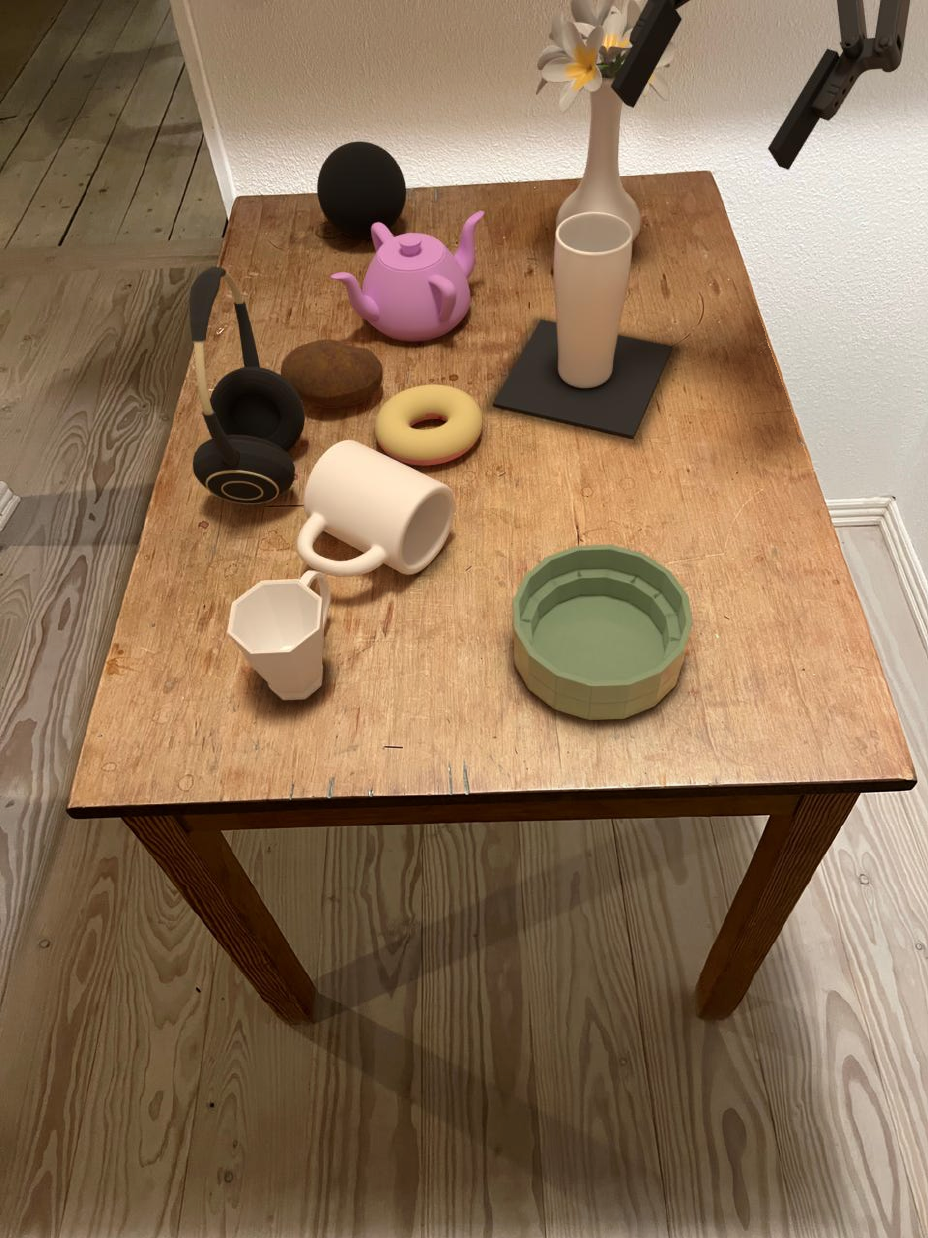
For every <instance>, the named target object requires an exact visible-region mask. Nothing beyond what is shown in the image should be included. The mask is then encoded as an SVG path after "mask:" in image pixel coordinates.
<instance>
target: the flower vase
mask: <svg viewBox="0 0 928 1238" xmlns="http://www.w3.org/2000/svg"><path fill="white" fill-rule="evenodd" d="M615 1H616V0H598V2H597V3H596V7H594V4H593V2H592V0H571V1H570V12H571V15H572V18H573V19H574V21H575V22H573V20H571V19H567V20H565V14H564V11H562V12H561V16H560V13H559V10H558V8H557V7H556V8H554V10H553V15H552V20H551V32H549V34H548V38H549V39H550V40H552V41H553V43H555V45H553V44H552V45H548V46H547V47H545V48H544V49H543V50H542V52H541V53H540V55H539V57H538V60H537V64H536V68H537V70H539V71H541V78H540V81H539V83H538V85H537V88H536V91H535V95H536V96H537V95H539V93H540V92H541V91H542V90H543V88H544V87H545V86H546V85H547V83H552V84H557V83H566V84H565V85H564V86H563V87H562V90H561V92H560V94H559V99H558V109H559V112H560V113H563V114H564V113H566V112H568V111H569V109H570V108H571V107H572V106H573V104H574V103H575V101H576V99H577V97H578V95H579V94H580V93H581V91H582V90H583V89H585V90H586V91H587V92H589V100H590V125H589V136H588V147H587V154H586V155H587V157H586V162H585V168H584V171H583V175H582V177H581V180H580V182H579V184H578V186H577V188H576V189H574V190H573V191H572V193H570V194H569V195H568V196H567V197H566V198H565V200H564V201H563V202H562V203H561V204H560V207H559V209H558V211H557V214H556V216H555V217H556V218H555V230H556V229H557V227H558V226H559V225H560V223H561V222H563V221H564V220H565V219H567V218H569V217H571V216H574V215H577V214H581V213H587V212H601V213H608V214H612V215H615V216H617V217H620V218H621V219H623V220H625V221H626V222H627V223H628V224H629V225H630V227H631V228H632V231H633V242H634V241H635V240H637V237H638V236H639V234H640V231H641V228H642V218H641V212H640V209H639V206H638V205H637V203H636V202H635V200H634V198H633V197H632V195H631V194H629V193H628V192H627V191H626V190H625V187H624V185H623V182H622V180H621V176H620V169H619V168H620V167H619V150H620V149H619V148H620V129H621V128H620V127H621V126H620V125H621V117H622V116H621V115H622V109H623V103H624V102H623V101H622V100H621V99H620V97H619V96H618V95H617V94H616V93H615V91H614V90H613V89H612V88H611V85H612V83H613V81H614V79H615V77H616V75H617V74H618V72H619V70H620V68H621V66H622V64H623V62H624V60H625V59H626V57H627V55H628V53H629V51H630V49H631V47H632V46H633V45H632V44H631V43H630V41H629V38H630V34H631V31H632V29H633V28H634V26H635V24H636V22H637V20H638V18H639V16H640V14H641V12H642V11H643V9H644V7H645V0H623V3H622V8H621V11H620V9H618V8H617V7H616V6H614V3H615ZM623 52H624V53H623ZM622 53H623V54H622ZM676 53H677V52H676V45H675V44H674V42H672V39H671V40H670V42H669V44H668V46H667V48H666V50H665V51H664V53H663V55H662V57H661V59H660V61H659V62H658V64H657V66H656V68H655V70H654V72H653V73H652V75H651V77H650V79H649V81H648V83H647V84H646V86H645V88H644V90H643V92H642V94H641V96H642V97H643V98H646V97H647V96H648V94H649V92H650V87H651V88H652V89H653V91H654V92H656V94H657V95H658V96H659V97H660V98H661V99H662V100H663V101H669V99H670V89H669V85H668V81H667V79H666V78H665V76H664V74H663V73H662V72H661V71H659V70H657V69H660V68H663V67H664V68H667V69H668V68H670V67H671V64H670V63H671V62H672V61H673V60H674V58H675V56H676ZM598 57H599V60H600V61H598Z"/></svg>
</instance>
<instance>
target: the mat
mask: <svg viewBox="0 0 928 1238" xmlns="http://www.w3.org/2000/svg"><path fill="white" fill-rule="evenodd" d="M672 350H673V345H669V344H665V343H660V342H654V341H651V340H645V339H640V338H635V337H630V336H625V335H620V334H618V337H617V343H616V348H615V353H614V361H613V370H612V374H611V376H610V377H609V379H608V380H607V381H606V382H605V383H603V384H601V385H599V386H597V387H593V388H578V387H574V386H571V385H569V384H567V383H566V382H565V381H563V380H562V378H561V377H560V375H559V373H558V343H557V325H556V321H552V320H551V321H550V320H546V319H540V320H539V322H538V323H537V325H536V327H535V329H534V331H533V332H532V334H531V336H530V337H529V339H528V341H527V342H526V344H525V346H524V348H523V349H522V351H521V353H520V354H519V357H518V358H517V360H516V362H515V363H514V365H513V367H512V369H511V370H510V372H509V374H508V376H507V377H506V379H505V381H504V382H503V384H502V386H501V388H500V390H499V391H498V393H497V394H496V396H495V399H494V400H493V402H492V407H494V408H498V409H502V410H506V411H512V412H516V413H520V414H523V415H529V416H533V417H538V418H540V419H541V418H542V419H546V420H551V421H554V422H559V423H563V424H567V425H570V426H577V427H580V428H585V429H589V430H593V431H597V432H602V433H607V434H610V435H616V436H620V437H623V438H629V439H632V440H633V439H635V435H636V433H637V432H638V429H639V428H640V427H639V426H640V424H641V422H642V419H643V417H644V415H645V413H646V410H647V408H648V406H649V403H650V401H651V399H652V397H653V394H654V392H655V390H656V388H657V385H658V383H659V381H660V378H661V377H662V373H663V371H664V369H665V368H666V367H665V366H666V364H667V362H668V359H669V358H670V355H671V352H672Z"/></svg>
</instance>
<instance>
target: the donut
mask: <svg viewBox="0 0 928 1238" xmlns="http://www.w3.org/2000/svg"><path fill="white" fill-rule="evenodd" d="M427 420H441V421H444V422H445V423H444V424H442V425H440V426H437V427H434V428H430V429H418V428H413V427H412V426H414V425H415V424H417V423H420V422H424V421H427ZM483 423H484V420H483V414H482V411H481V408H480V406H479V404H478V403H477V401H476V400H475V399H474V398H473V397H472V396H471V395H470V394H468V393H467V392H465V391H463V390H462V389H459V388H457V387H454V386H450V385H447V384H435V383H434V384H433V383H432V384H422V385H416V386H413V387H410V388H407V389H404V390H402V391H399V392H398V393H396V394H394V395H393V396H391V397H390V398H389V399H387V400H386V401H385V403H384V404H383V405H382V406H381V408H380V409H379V411H378V412H377V415H376V418H375V420H374V434H375V439H376V441H377V444H378V445H379V447H380V448H381V449H382V450H383V451H384V452H385V454H387V455H388V456H389V457H390V458H392V459H394V460H396V461H398V462H400V463H403V464H408V465H412V466H413V465H414V466H435V465H440V464H444V463H447V462H451V461H453V460H455V459H458V458H459V457H461V456H462V455H464V454H466V453H467V452H468V451H469V450H471V448H473V446H474V445H475V444H476V443H477V442H478V439H479V438H480V435H481V434H482V430H483Z"/></svg>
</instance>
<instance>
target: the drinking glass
mask: <svg viewBox="0 0 928 1238" xmlns="http://www.w3.org/2000/svg"><path fill="white" fill-rule="evenodd" d="M633 242H634V241H633V231H632V228H631V227H630V225H629V224H628V223H627V222H626V221H625V220H623V219H621V218H620V217H617V216H615V215H612V214H608V213H601V212H587V213H581V214H577V215H574V216H571V217H569V218H567V219H565V220H564V221H563V222H561V223H560V225H559V226H558V227H557V229H556V228H555V235H554V248H553V267H552V268H553V273H552V274H553V293H554V306H555V307H554V308H555V322H556V325H557V343H558V373H559V375H560V377H561V378H562V380H563V381H565V382H566V383H567V384H569V385H571V386H574V387H578V388H593V387H597V386H599V385H601V384H603V383H605V382H606V381H607V380H608V379H609V377H610V376H611V374H612V370H613V361H614V353H615V348H616V343H617V337H618V335H619V332H620V327H621V321H622V317H623V311H624V308H625V307H624V306H625V303H626V302H625V301H626V297H627V291H628V286H629V281H630V275H631V267H632V266H631V265H632V259H633V258H632V257H633Z"/></svg>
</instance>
